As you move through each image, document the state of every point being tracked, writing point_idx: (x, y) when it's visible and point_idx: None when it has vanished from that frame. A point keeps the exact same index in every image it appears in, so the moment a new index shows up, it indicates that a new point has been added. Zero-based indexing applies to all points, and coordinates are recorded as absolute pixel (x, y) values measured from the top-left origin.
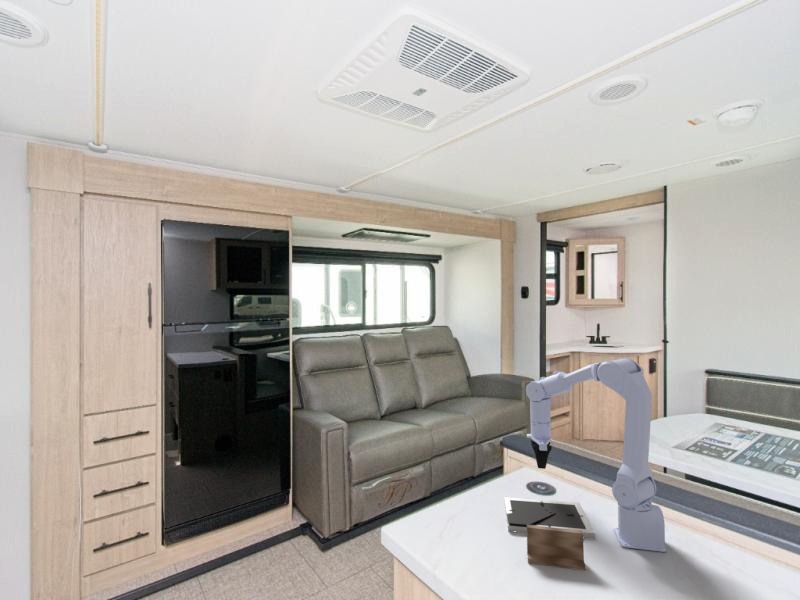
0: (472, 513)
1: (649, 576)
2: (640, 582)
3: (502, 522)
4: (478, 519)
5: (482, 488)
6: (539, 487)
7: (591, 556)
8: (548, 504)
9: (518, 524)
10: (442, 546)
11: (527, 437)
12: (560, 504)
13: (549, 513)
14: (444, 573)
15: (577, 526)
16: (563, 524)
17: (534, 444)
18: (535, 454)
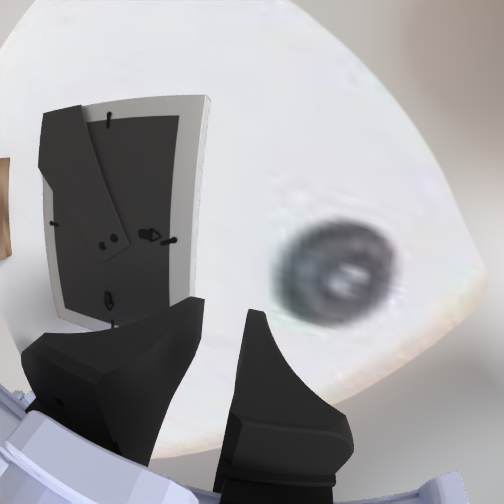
0: (138, 16)
1: (21, 332)
2: (9, 313)
3: (89, 96)
4: (107, 36)
5: (325, 38)
6: (343, 273)
7: (24, 276)
8: (157, 259)
9: (41, 140)
10: (45, 13)
11: (27, 415)
12: (164, 300)
13: (95, 242)
14: (5, 44)
15: (66, 293)
16: (65, 262)
17: (65, 395)
18: (111, 329)
